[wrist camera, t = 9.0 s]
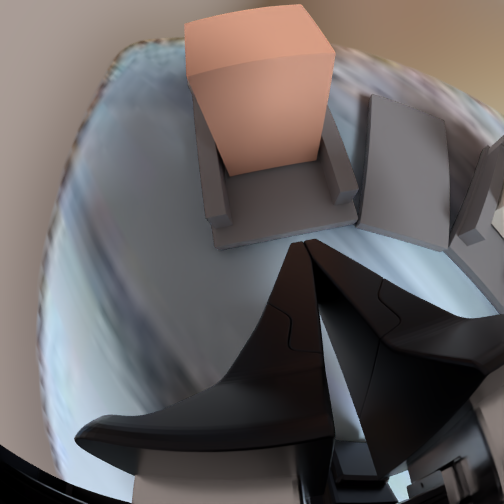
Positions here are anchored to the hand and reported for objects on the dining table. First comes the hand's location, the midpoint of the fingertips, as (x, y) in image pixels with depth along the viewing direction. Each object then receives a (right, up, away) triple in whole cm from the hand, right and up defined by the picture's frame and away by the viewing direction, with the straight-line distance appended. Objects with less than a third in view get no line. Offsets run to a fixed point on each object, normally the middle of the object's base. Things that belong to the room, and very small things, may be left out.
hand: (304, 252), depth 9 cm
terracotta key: (-1, +7, +6) cm, 9 cm away
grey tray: (+8, +4, +6) cm, 11 cm away
